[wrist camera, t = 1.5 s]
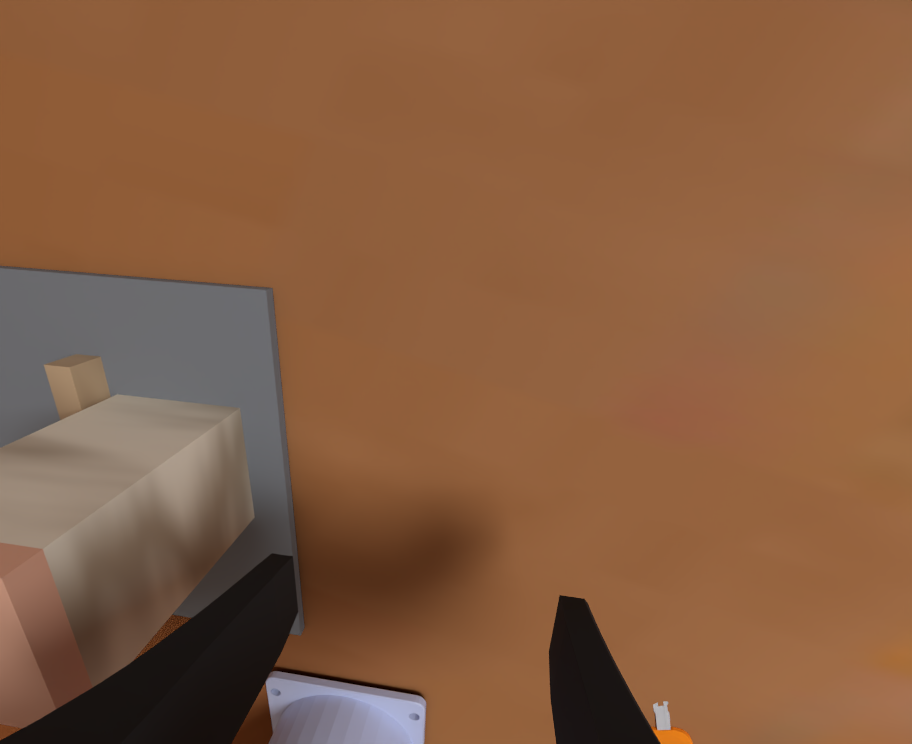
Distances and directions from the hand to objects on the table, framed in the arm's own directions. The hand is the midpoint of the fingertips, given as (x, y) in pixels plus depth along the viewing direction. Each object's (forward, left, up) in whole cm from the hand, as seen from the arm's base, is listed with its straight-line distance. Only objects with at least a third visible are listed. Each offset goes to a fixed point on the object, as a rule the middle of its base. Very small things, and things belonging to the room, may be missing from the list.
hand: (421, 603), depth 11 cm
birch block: (0, +10, -5) cm, 12 cm away
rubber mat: (-1, +14, -5) cm, 16 cm away
